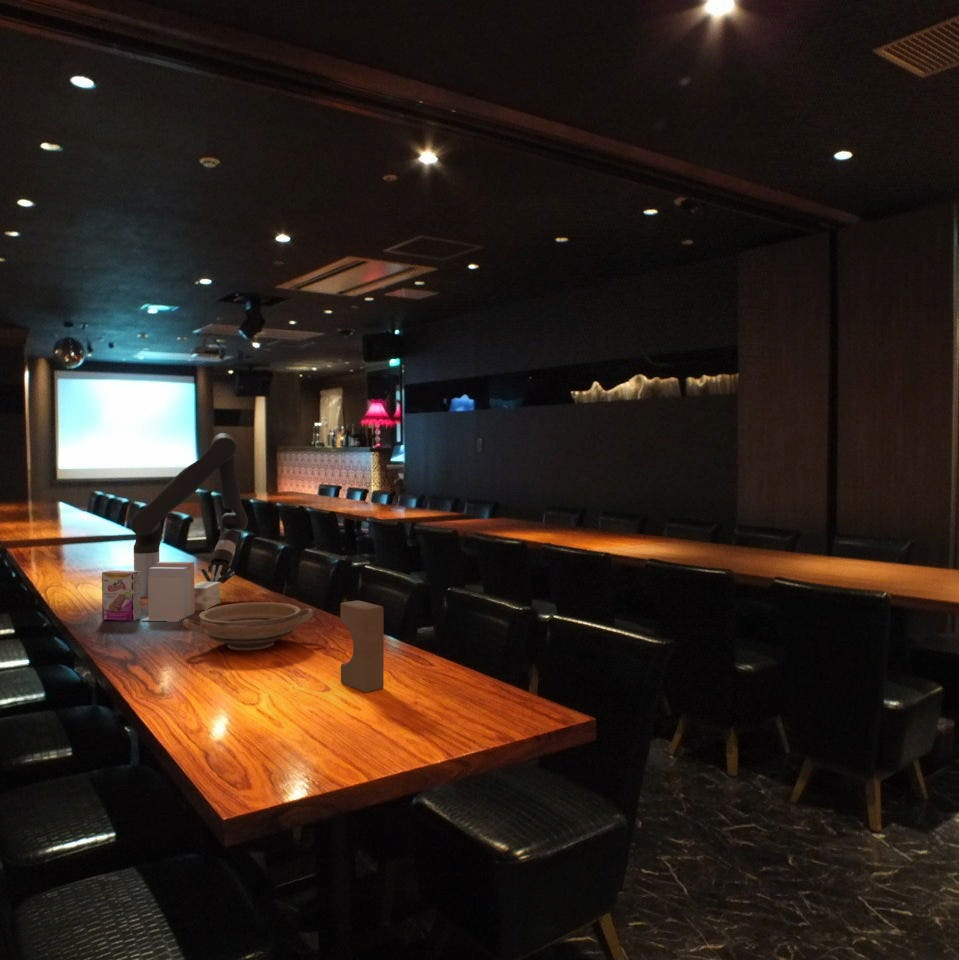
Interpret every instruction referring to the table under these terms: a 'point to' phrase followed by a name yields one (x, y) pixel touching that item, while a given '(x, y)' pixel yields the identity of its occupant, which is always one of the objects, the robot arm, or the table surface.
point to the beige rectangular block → (206, 595)
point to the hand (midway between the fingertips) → (211, 591)
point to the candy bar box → (121, 595)
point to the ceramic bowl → (249, 623)
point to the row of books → (170, 591)
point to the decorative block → (364, 646)
